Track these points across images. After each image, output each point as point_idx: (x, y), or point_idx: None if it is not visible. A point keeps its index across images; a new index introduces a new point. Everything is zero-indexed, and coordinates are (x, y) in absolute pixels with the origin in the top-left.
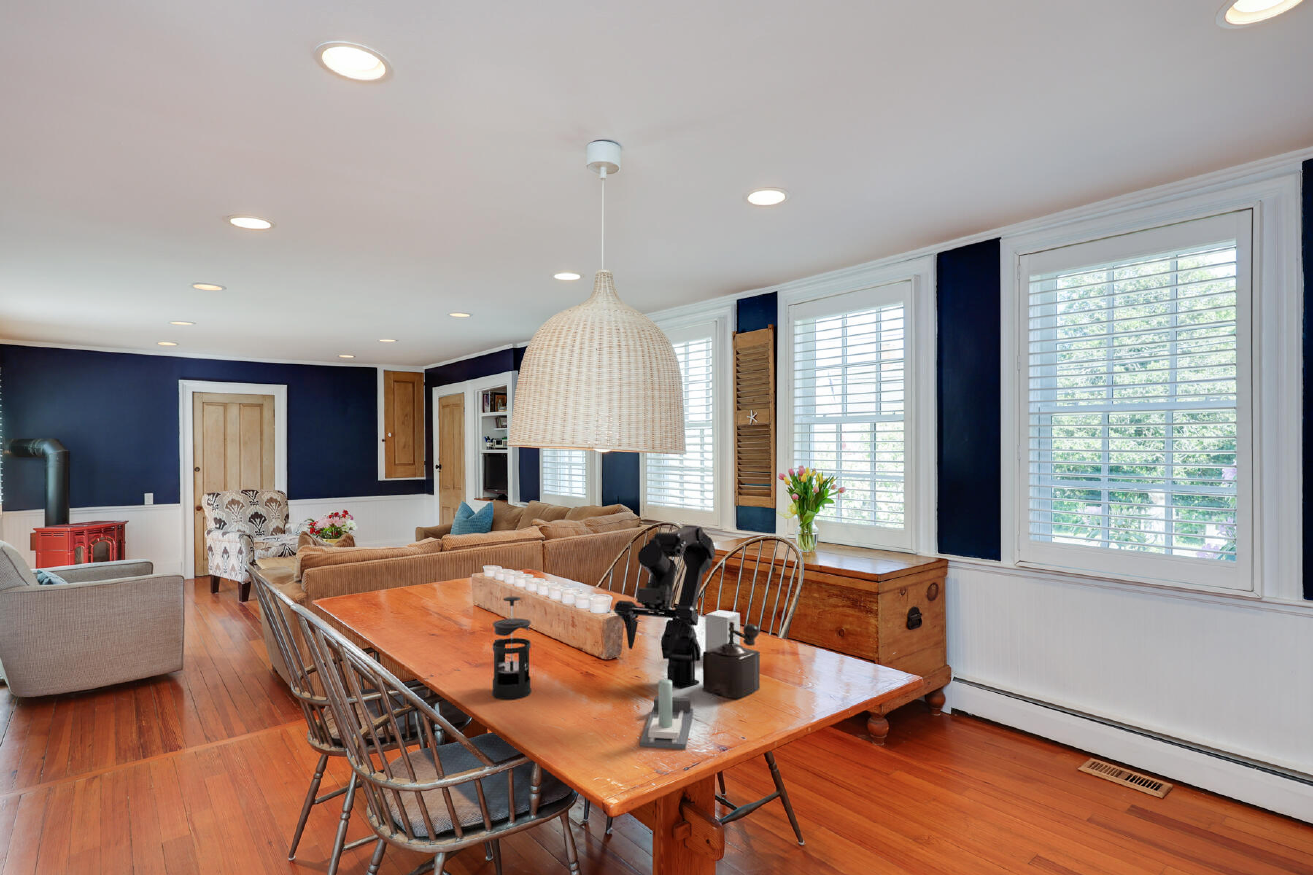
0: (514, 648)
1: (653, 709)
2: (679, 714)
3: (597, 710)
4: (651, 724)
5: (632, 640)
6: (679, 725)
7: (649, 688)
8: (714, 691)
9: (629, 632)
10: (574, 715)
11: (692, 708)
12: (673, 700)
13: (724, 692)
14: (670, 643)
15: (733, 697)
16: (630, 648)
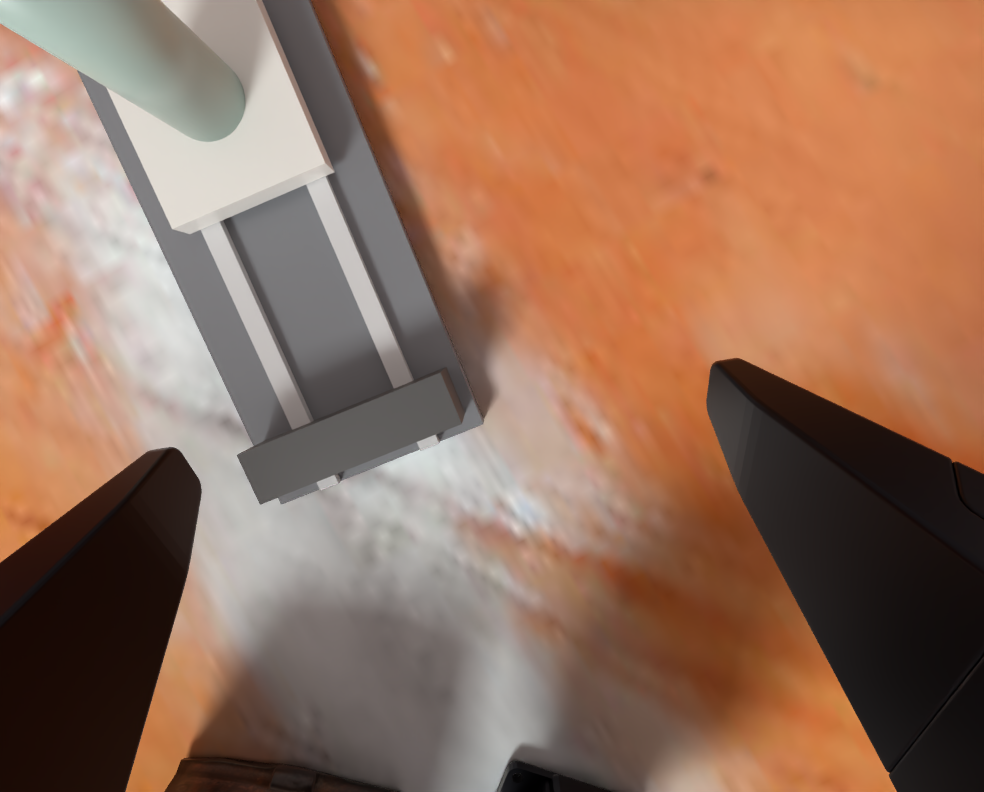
0: None
1: (459, 384)
2: (283, 368)
3: (755, 277)
4: (280, 66)
5: (761, 466)
6: (133, 136)
7: (666, 689)
8: (311, 776)
9: (891, 470)
10: (832, 150)
11: (284, 500)
12: (328, 418)
13: (253, 782)
14: (78, 520)
15: (202, 761)
16: (710, 371)
